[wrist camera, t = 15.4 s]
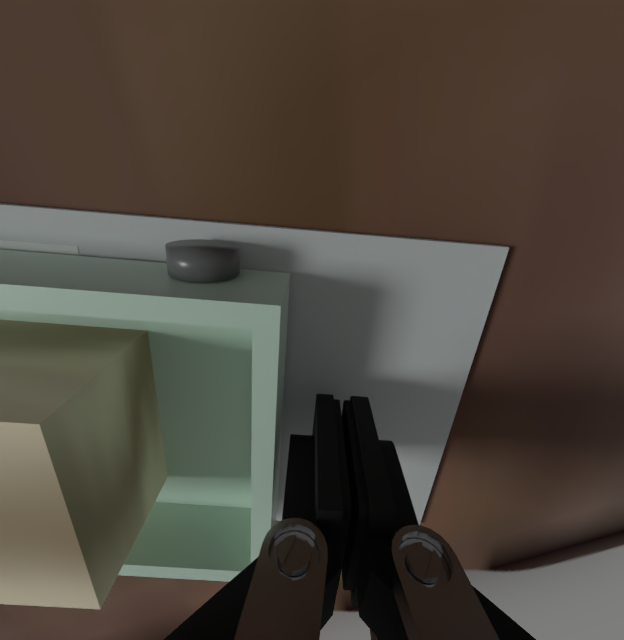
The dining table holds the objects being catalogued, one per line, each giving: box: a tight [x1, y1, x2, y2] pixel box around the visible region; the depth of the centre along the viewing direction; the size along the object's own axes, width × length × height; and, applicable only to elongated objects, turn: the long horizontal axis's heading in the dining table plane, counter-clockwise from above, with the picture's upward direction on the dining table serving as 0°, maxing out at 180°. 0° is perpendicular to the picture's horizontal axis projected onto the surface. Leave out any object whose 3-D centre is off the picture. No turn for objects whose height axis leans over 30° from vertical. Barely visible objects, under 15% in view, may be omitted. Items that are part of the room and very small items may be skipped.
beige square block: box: [0, 320, 168, 609], centre depth 9 cm, size 6×6×4 cm
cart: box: [0, 239, 290, 582], centre depth 10 cm, size 14×12×3 cm
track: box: [0, 203, 509, 525], centre depth 10 cm, size 30×12×4 cm, turn 85°
